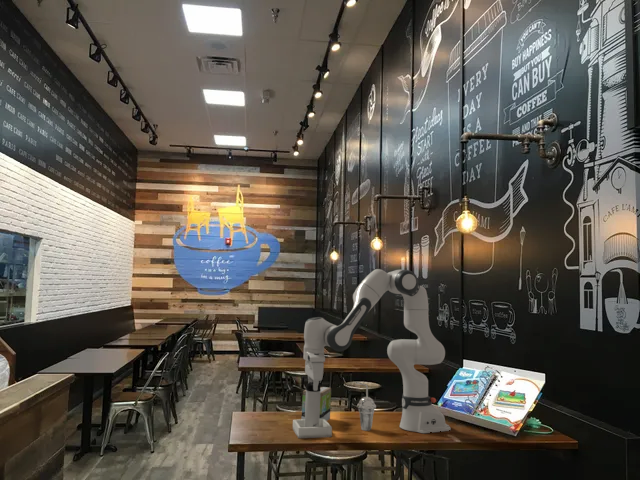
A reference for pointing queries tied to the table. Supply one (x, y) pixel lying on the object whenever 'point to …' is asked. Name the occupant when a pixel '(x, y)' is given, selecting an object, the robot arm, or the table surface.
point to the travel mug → (312, 406)
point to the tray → (312, 429)
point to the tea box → (324, 403)
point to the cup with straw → (366, 410)
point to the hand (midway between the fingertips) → (312, 388)
